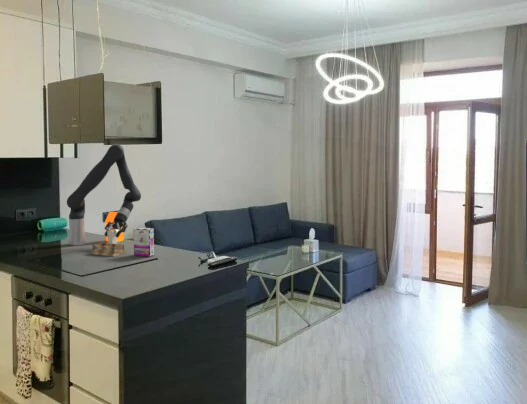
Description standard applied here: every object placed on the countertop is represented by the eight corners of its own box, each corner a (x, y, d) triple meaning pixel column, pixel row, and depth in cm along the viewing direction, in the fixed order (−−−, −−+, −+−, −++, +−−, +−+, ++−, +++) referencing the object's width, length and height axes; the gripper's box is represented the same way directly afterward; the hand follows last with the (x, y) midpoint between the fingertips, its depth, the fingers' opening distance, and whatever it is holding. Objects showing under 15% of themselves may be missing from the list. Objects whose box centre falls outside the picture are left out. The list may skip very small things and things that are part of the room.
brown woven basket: (90, 253, 289) (90, 245, 289) (103, 250, 300) (103, 242, 299) (113, 256, 283) (113, 247, 282) (125, 252, 293) (125, 244, 293)
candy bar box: (154, 255, 287) (154, 228, 285) (150, 257, 282) (149, 229, 280) (138, 253, 291) (137, 227, 289) (133, 255, 286) (133, 228, 284)
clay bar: (107, 249, 302) (107, 230, 301) (112, 248, 306) (112, 229, 305) (112, 250, 301) (111, 231, 300) (117, 248, 305) (116, 230, 304)
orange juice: (114, 242, 326) (113, 213, 323) (105, 241, 330) (104, 212, 328) (123, 240, 332) (122, 211, 330) (114, 239, 337) (114, 211, 335)
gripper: (110, 211, 311) (98, 232, 302) (128, 212, 306) (117, 233, 296) (116, 218, 316) (104, 239, 307) (134, 220, 311) (123, 240, 302)
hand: (111, 236), depth 302 cm, fingers open, 8 cm apart
